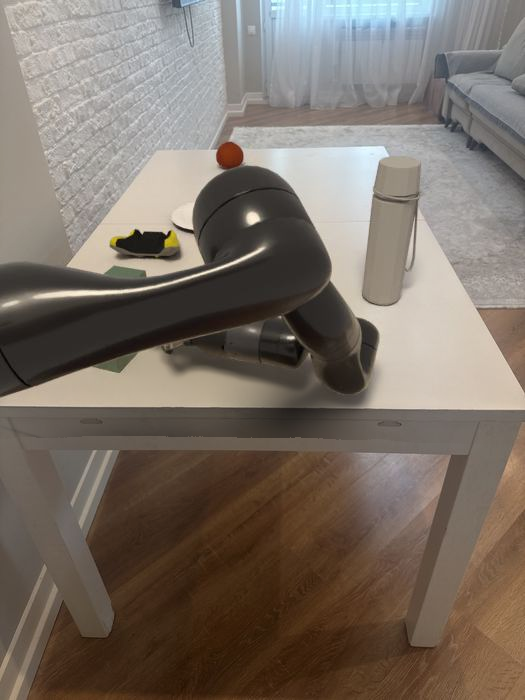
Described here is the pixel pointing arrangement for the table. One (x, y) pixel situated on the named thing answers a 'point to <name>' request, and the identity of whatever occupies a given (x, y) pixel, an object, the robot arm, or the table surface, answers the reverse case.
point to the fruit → (229, 155)
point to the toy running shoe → (146, 243)
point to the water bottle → (391, 228)
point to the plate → (183, 216)
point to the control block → (121, 362)
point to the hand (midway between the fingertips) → (136, 314)
